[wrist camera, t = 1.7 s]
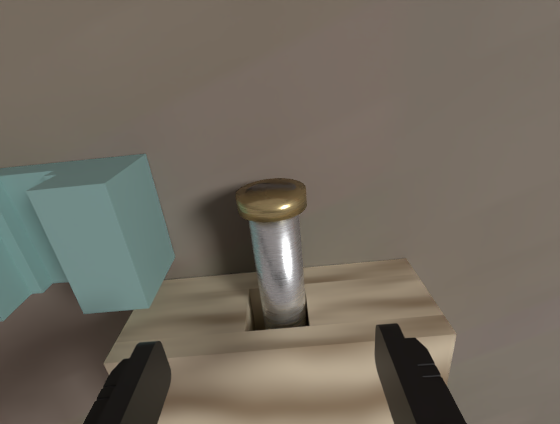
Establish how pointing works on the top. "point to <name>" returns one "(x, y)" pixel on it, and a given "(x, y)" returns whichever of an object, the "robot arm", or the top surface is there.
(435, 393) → the robot arm
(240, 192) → the axle
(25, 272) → the v block
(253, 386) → the beam
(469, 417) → the top surface
